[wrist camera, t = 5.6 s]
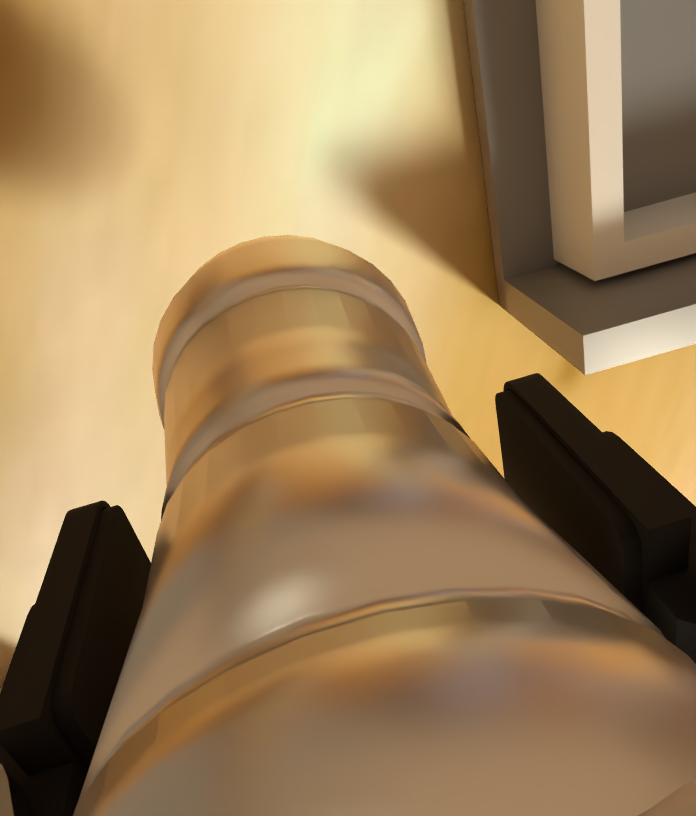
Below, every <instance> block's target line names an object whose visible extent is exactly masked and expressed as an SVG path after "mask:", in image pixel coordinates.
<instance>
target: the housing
mask: <svg viewBox="0 0 696 816" xmlns="http://www.w3.org/2000/svg"><path fill="white" fill-rule="evenodd" d="M463 3H464V11H465V19H466V28H467V36H468V45H469V53H470V62H471V70H472V79H473V87H474V95H475V104H476V112H477V121H478V129H479V138H480V146H481V155H482V163H483V172H484V180H485V188H486V197H487V205H488V214H489V222H490V231H491V239H492V248H493V256H494V264H495V273H496V281H497V290H498V298H499V305H500V306H501V307H502V308H503V309H504V310H506V311H507V312H508V313H509V314H511V315H512V316H513V317H514V318H516V319H517V320H518V321H519V322H520V323H522V324H523V325H524V326H525V327H527V328H528V329H529V330H530V331H531V332H533V333H534V334H535V335H536V336H538V337H539V338H540V339H541V340H543V341H544V342H545V343H546V344H547V345H549V346H550V347H551V348H552V349H554V350H555V351H556V352H557V353H559V354H560V355H561V356H562V357H563V358H565V359H566V360H567V361H568V362H570V363H571V364H572V365H573V366H574V367H576V368H577V369H578V370H579V371H581V372H582V373H583V374H584V375H587V374H591V373H594V372H598V371H601V370H605V369H608V368H612V367H615V366H619V365H622V364H626V363H629V362H633V361H636V360H640V359H643V358H647V357H650V356H654V355H657V354H661V353H665V352H668V351H672V350H675V349H679V348H682V347H686V346H689V345H693V344H696V0H463Z"/></svg>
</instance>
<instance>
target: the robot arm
mask: <svg viewBox="0 0 696 816" xmlns="http://www.w3.org/2000/svg"><path fill="white" fill-rule="evenodd" d="M495 403H496V411H497V419H498V427H499V436H500V444H501V452H502V460H503V468H504V477H505V480H506V482H507V483H508V484H509V485H510V486H511V488H512V489H513V490H514V491H515V493H516V494H517V495H518V496H519V497H520V498H521V499H522V500H523V501H524V502H525V503H526V504H527V505H528V506H529V507H530V508H532V509H533V510H534V511H535V512H536V513H537V514H538V515H539V516H540V517H541V518H542V519H543V520H544V521H545V522H546V523H547V524H548V525H549V526H551V527H552V528H553V529H554V530H555V531H556V532H557V533H558V534H559V535H560V536H561V537H562V538H563V539H564V540H565V541H566V542H567V543H569V544H570V545H571V546H572V547H573V548H574V549H575V550H576V551H577V552H578V553H579V554H580V555H581V556H582V557H583V558H584V559H585V560H586V561H588V562H589V563H590V564H591V565H592V566H593V567H594V568H595V569H596V570H597V571H598V572H599V573H600V574H601V575H602V576H603V577H604V578H606V579H607V580H608V581H609V582H610V583H611V584H612V585H613V586H614V587H615V588H616V589H617V590H618V591H619V592H620V593H621V594H622V595H623V596H625V597H626V598H627V599H628V600H629V601H630V602H631V603H632V604H633V605H634V606H635V607H636V608H637V609H638V610H639V611H640V612H641V613H643V614H644V615H645V616H646V617H647V618H648V619H649V620H650V621H651V622H652V623H653V624H654V625H655V626H656V627H657V628H658V629H659V630H660V631H661V632H662V634H663V635H664V637H665V638H666V639H667V640H668V641H669V642H671V643H672V644H673V645H675V646H676V647H677V648H679V649H680V650H681V651H683V652H684V653H685V654H687V655H688V656H689V657H690V658H691V659H692V660H693V662H694V663H695V664H696V507H695V506H694V505H693V504H692V503H691V502H690V501H689V500H688V499H687V498H686V497H685V496H683V495H682V494H681V493H680V492H679V491H678V490H677V489H676V488H675V487H674V486H672V485H671V484H670V483H669V482H668V481H667V480H666V479H665V478H664V477H663V476H661V475H660V474H659V473H658V472H657V471H656V470H655V469H654V468H653V467H652V466H651V465H649V464H648V463H647V462H646V461H645V460H644V459H643V458H642V457H641V456H640V455H638V454H637V453H636V452H635V451H634V450H633V449H632V448H631V447H630V446H629V445H627V444H626V443H625V442H624V441H623V440H622V439H621V438H620V437H619V436H617V435H616V434H614V433H613V432H608V431H606V432H601V431H600V430H599V429H598V428H597V427H596V426H595V425H594V424H593V423H592V422H591V421H589V420H588V419H587V418H586V417H585V416H584V415H583V414H582V413H581V412H580V411H579V410H578V409H577V408H576V407H575V406H574V405H572V404H571V403H570V402H569V401H568V400H567V399H566V398H565V397H564V396H563V395H562V394H561V393H560V392H559V391H558V390H557V389H555V388H554V387H553V386H552V385H551V384H550V383H549V382H548V381H547V380H546V379H545V378H544V377H543V376H542V375H540V374H539V373H535V374H532V375H528V376H525V377H522V378H518V379H515V380H511V381H508V382H506V383H505V384H504V392H500V393H497V394H496V397H495ZM150 567H151V562H150V560H149V559H148V557H147V555H146V553H145V551H144V549H143V547H142V545H141V543H140V541H139V539H138V538H137V536H136V534H135V532H134V530H133V528H132V526H131V524H130V522H129V520H128V518H127V517H126V515H125V513H124V511H123V509H122V508H121V507H120V506H118V505H116V506H113V507H110V505H109V504H108V503H107V502H106V501H99V502H96V503H92V504H89V505H86V506H82V507H79V508H75V509H72V510H70V511H68V512H67V514H66V516H65V519H64V521H63V524H62V527H61V530H60V533H59V536H58V539H57V542H56V545H55V548H54V551H53V554H52V557H51V559H50V562H49V565H48V568H47V571H46V574H45V577H44V580H43V583H42V586H41V589H40V592H39V595H38V597H37V600H36V603H35V604H34V605H33V606H32V607H31V609H30V611H29V613H28V615H27V618H26V621H25V624H24V627H23V629H22V632H21V635H20V638H19V641H18V644H17V647H16V649H15V652H14V655H13V658H12V661H11V664H10V667H9V670H8V672H7V675H6V678H5V681H4V684H3V687H2V690H1V692H0V816H73V814H74V811H75V808H76V805H77V803H78V800H79V797H80V794H81V791H82V788H83V785H84V782H85V779H86V776H87V773H88V770H89V767H90V764H91V761H92V758H93V755H94V752H95V749H96V746H97V743H98V740H99V737H100V734H101V731H102V728H103V725H104V722H105V719H106V716H107V712H108V709H109V706H110V703H111V700H112V697H113V694H114V691H115V688H116V685H117V682H118V679H119V676H120V673H121V670H122V667H123V664H124V661H125V658H126V655H127V652H128V649H129V646H130V643H131V640H132V637H133V634H134V631H135V628H136V625H137V622H138V619H139V616H140V613H141V610H142V607H143V603H144V598H145V593H146V587H147V582H148V577H149V572H150ZM637 816H696V781H695V782H691V783H688V784H685V785H683V786H681V787H680V788H678V789H677V790H676V791H674V792H673V793H671V794H670V795H668V796H667V797H666V798H664V799H663V800H661V801H660V802H658V803H657V804H656V805H654V806H653V807H651V808H650V809H648V810H646V811H645V812H643V813H641V814H639V815H637Z"/></svg>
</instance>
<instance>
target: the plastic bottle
mask: <svg viewBox="0 0 696 816" xmlns="http://www.w3.org/2000/svg"><path fill="white" fill-rule="evenodd" d="M152 369H153V377H154V386H155V393H156V399H157V404H158V410H159V415H160V418H161V421H162V424H163V427H164V430H165V457H166V485H167V488H166V492H165V497H164V502H163V507H162V516H161V523H160V526H159V529H158V532H157V537H156V542H155V547H154V552H153V557H152V562H151V567H150V572H149V577H148V582H147V587H146V593H145V598H144V603H143V607H142V610H141V613H140V616H139V619H138V622H137V625H136V628H135V631H134V634H133V637H132V640H131V643H130V646H129V649H128V652H127V655H126V658H125V661H124V664H123V667H122V670H121V673H120V676H119V679H118V682H117V685H116V688H115V691H114V694H113V697H112V700H111V703H110V706H109V709H108V712H107V716H106V719H105V722H104V725H103V728H102V731H101V734H100V737H99V740H98V743H97V746H96V749H95V752H94V755H93V758H92V761H91V764H90V767H89V770H88V773H87V776H86V779H85V782H84V785H83V788H82V791H81V794H80V797H79V800H78V803H77V805H76V808H75V811H74V814H73V816H637V815H639V814H641V813H643V812H645V811H646V810H648V809H650V808H651V807H653V806H654V805H656V804H657V803H658V802H660V801H661V800H663V799H664V798H666V797H667V796H668V795H670V794H671V793H673V792H674V791H676V790H677V789H678V788H680V787H681V786H683V785H685V784H688V783H691V782H695V781H696V664H695V663H694V662H693V660H692V659H691V658H690V657H689V656H688V655H687V654H685V653H684V652H683V651H681V650H680V649H679V648H677V647H676V646H675V645H673V644H672V643H671V642H669V641H668V640H667V639H666V638H665V637H664V635H663V634H662V632H661V631H660V630H659V629H658V628H657V627H656V626H655V625H654V624H653V623H652V622H651V621H650V620H649V619H648V618H647V617H646V616H645V615H644V614H643V613H641V612H640V611H639V610H638V609H637V608H636V607H635V606H634V605H633V604H632V603H631V602H630V601H629V600H628V599H627V598H626V597H625V596H623V595H622V594H621V593H620V592H619V591H618V590H617V589H616V588H615V587H614V586H613V585H612V584H611V583H610V582H609V581H608V580H607V579H606V578H604V577H603V576H602V575H601V574H600V573H599V572H598V571H597V570H596V569H595V568H594V567H593V566H592V565H591V564H590V563H589V562H588V561H586V560H585V559H584V558H583V557H582V556H581V555H580V554H579V553H578V552H577V551H576V550H575V549H574V548H573V547H572V546H571V545H570V544H569V543H567V542H566V541H565V540H564V539H563V538H562V537H561V536H560V535H559V534H558V533H557V532H556V531H555V530H554V529H553V528H552V527H551V526H549V525H548V524H547V523H546V522H545V521H544V520H543V519H542V518H541V517H540V516H539V515H538V514H537V513H536V512H535V511H534V510H533V509H532V508H530V507H529V506H528V505H527V504H526V503H525V502H524V501H523V500H522V499H521V498H520V497H519V496H518V495H517V494H516V493H515V491H514V490H513V489H512V488H511V486H510V485H509V484H508V483H507V482H506V480H505V479H504V478H503V477H502V475H501V474H500V473H499V472H498V471H497V469H496V468H495V467H494V466H493V464H492V463H491V462H490V461H489V460H488V458H487V457H486V456H485V455H484V454H483V452H482V451H481V450H480V449H479V447H478V446H477V445H476V444H475V443H474V442H473V441H472V440H471V439H470V437H469V436H468V435H467V433H466V432H465V431H464V430H463V428H462V427H461V426H460V424H459V423H458V422H457V421H456V420H455V418H454V417H453V416H452V414H451V412H450V410H449V408H448V406H447V404H446V402H445V400H444V398H443V396H442V394H441V392H440V390H439V388H438V386H437V384H436V382H435V380H434V378H433V376H432V374H431V372H430V370H429V368H428V366H427V364H426V358H425V353H424V348H423V343H422V341H421V338H420V336H419V333H418V331H417V328H416V326H415V323H414V321H413V318H412V316H411V314H410V311H409V309H408V307H407V304H406V302H405V300H404V298H403V297H402V296H401V294H400V293H399V291H398V290H397V289H396V287H395V286H394V284H393V283H392V282H391V280H389V279H388V278H387V277H386V276H385V275H384V274H383V273H382V272H381V271H379V270H378V269H377V268H376V267H375V266H374V265H373V264H371V263H370V262H368V261H366V260H364V259H363V258H361V257H359V256H357V255H356V254H354V253H352V252H350V251H348V250H346V249H343V248H341V247H338V246H336V245H333V244H330V243H327V242H324V241H321V240H318V239H315V238H308V237H300V236H292V235H284V236H268V237H262V238H258V239H254V240H250V241H247V242H243V243H240V244H238V245H236V246H233V247H231V248H229V249H227V250H225V251H223V252H221V253H219V254H217V255H216V256H215V257H213V258H212V259H211V260H209V261H208V262H207V263H205V264H204V265H203V266H202V267H200V268H199V269H198V270H197V271H196V272H195V274H194V275H193V276H192V277H191V278H190V279H189V280H188V282H187V283H186V284H185V285H184V286H183V287H182V288H181V290H180V291H179V292H178V293H177V294H176V295H175V296H174V297H173V299H172V301H171V303H170V305H169V306H168V308H167V310H166V312H165V314H164V315H163V317H162V319H161V321H160V325H159V328H158V331H157V335H156V338H155V342H154V349H153V368H152Z"/></svg>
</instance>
